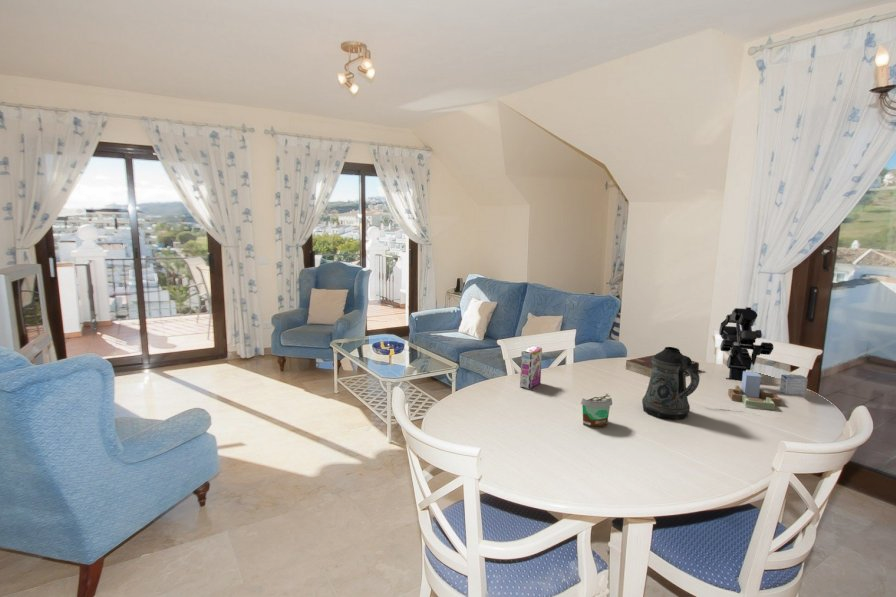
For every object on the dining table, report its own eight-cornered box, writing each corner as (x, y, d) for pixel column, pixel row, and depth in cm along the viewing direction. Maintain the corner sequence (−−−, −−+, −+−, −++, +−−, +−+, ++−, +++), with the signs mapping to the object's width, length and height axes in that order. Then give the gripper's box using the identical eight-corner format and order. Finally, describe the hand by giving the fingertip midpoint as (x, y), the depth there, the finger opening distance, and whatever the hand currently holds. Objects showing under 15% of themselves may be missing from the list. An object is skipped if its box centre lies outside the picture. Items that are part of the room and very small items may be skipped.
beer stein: (647, 400, 193) (651, 340, 189) (701, 411, 182) (706, 347, 178) (636, 413, 180) (641, 349, 176) (694, 426, 169) (700, 357, 165)
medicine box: (798, 394, 201) (801, 374, 200) (805, 398, 197) (808, 378, 195) (778, 394, 202) (781, 374, 201) (785, 397, 198) (787, 377, 196)
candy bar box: (530, 389, 206) (531, 352, 203) (519, 387, 208) (520, 350, 206) (541, 383, 215) (542, 347, 212) (531, 380, 217) (532, 345, 215)
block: (740, 391, 200) (743, 371, 198) (754, 393, 198) (757, 372, 197) (744, 396, 194) (746, 375, 193) (758, 398, 192) (761, 376, 191)
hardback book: (658, 381, 220) (659, 370, 219) (625, 370, 236) (626, 360, 235) (698, 371, 233) (699, 362, 233) (664, 362, 250) (665, 353, 249)
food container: (592, 432, 164) (594, 404, 162) (579, 425, 169) (581, 398, 168) (618, 425, 169) (620, 398, 168) (605, 419, 175) (607, 392, 173)
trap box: (724, 393, 202) (725, 384, 202) (770, 398, 197) (771, 388, 196) (734, 409, 184) (735, 399, 184) (784, 415, 179) (786, 405, 178)
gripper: (724, 321, 206) (726, 352, 198) (774, 324, 200) (779, 356, 192) (719, 335, 215) (721, 365, 206) (767, 338, 209) (772, 370, 200)
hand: (748, 364), depth 201 cm, fingers open, 4 cm apart
